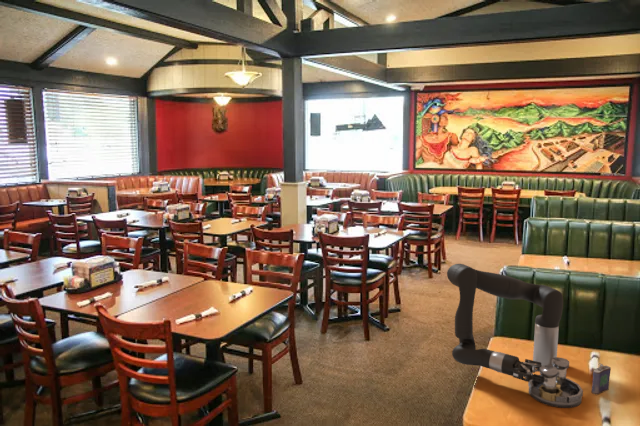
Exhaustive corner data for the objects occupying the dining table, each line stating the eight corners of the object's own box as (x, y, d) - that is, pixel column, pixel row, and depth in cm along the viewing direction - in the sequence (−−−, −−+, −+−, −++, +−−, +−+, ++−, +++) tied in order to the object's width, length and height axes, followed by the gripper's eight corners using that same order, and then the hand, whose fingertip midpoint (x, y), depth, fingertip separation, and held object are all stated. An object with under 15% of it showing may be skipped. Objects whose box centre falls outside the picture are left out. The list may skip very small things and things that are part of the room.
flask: (596, 395, 190) (598, 368, 188) (588, 392, 192) (590, 365, 191) (610, 389, 195) (612, 362, 193) (602, 386, 197) (605, 360, 196)
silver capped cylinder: (544, 389, 190) (542, 364, 189) (561, 393, 186) (559, 367, 185) (539, 396, 186) (537, 370, 185) (556, 400, 182) (554, 374, 180)
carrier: (537, 379, 203) (539, 351, 201) (587, 394, 191) (589, 363, 189) (521, 396, 189) (523, 366, 187) (573, 413, 177) (575, 381, 176)
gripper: (497, 360, 190) (542, 372, 179) (511, 348, 201) (554, 359, 190) (496, 379, 191) (541, 392, 181) (510, 366, 202) (553, 378, 191)
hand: (548, 375), depth 185 cm, fingers open, 8 cm apart
